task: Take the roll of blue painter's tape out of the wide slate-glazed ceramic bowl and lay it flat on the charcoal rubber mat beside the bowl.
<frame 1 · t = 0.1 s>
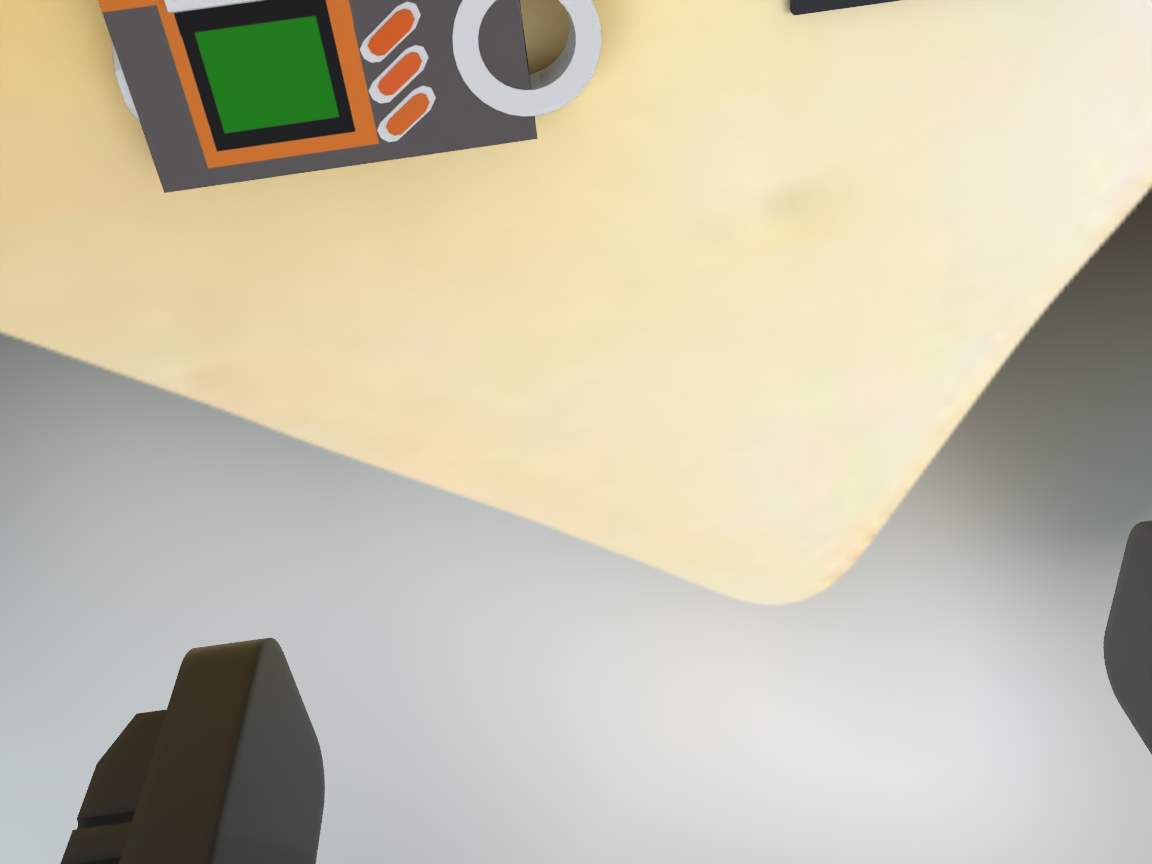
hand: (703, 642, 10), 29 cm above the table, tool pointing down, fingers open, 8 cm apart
electronic device: (367, 38, 35), on the table
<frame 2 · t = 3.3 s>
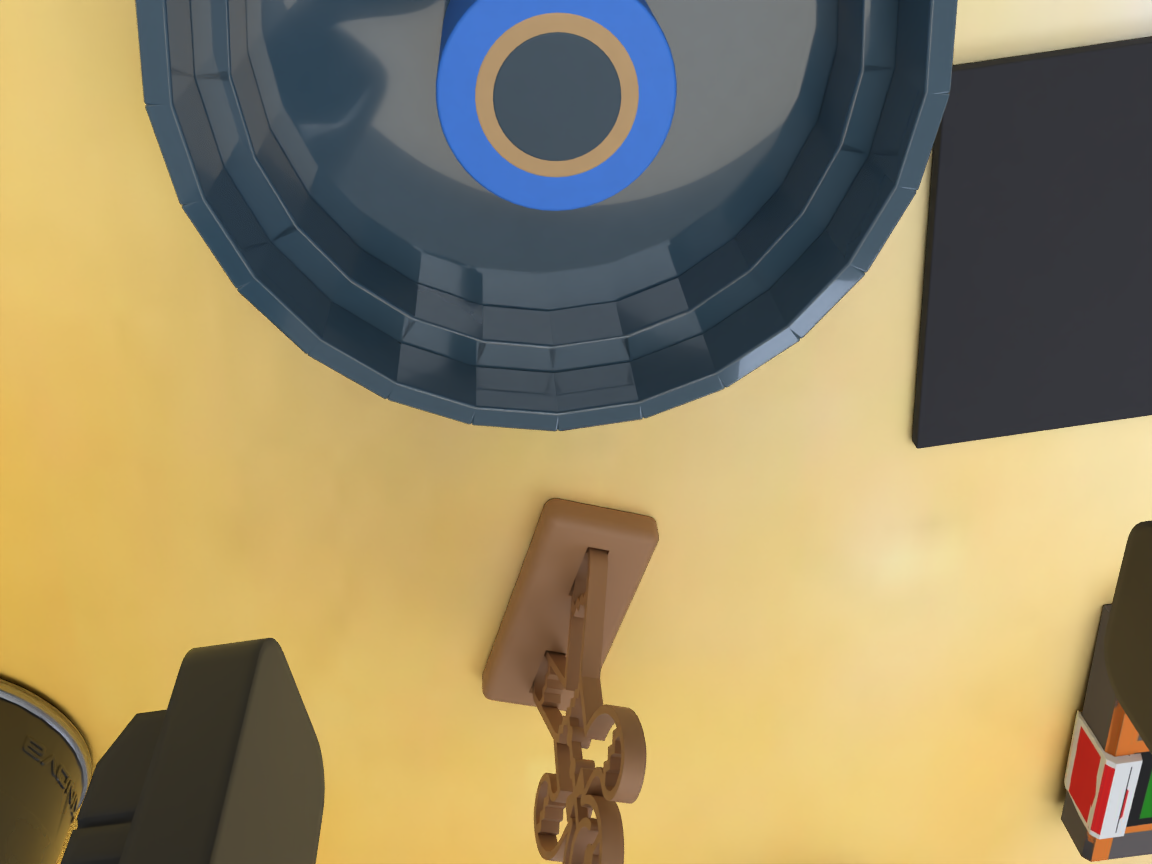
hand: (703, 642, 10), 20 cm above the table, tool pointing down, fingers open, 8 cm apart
tape roll: (547, 48, 26), resting on bowl
mat: (1127, 244, 31), on the table
bowl: (546, 44, 26), on the table
brown scrollwork wall hook: (564, 600, 37), on the table
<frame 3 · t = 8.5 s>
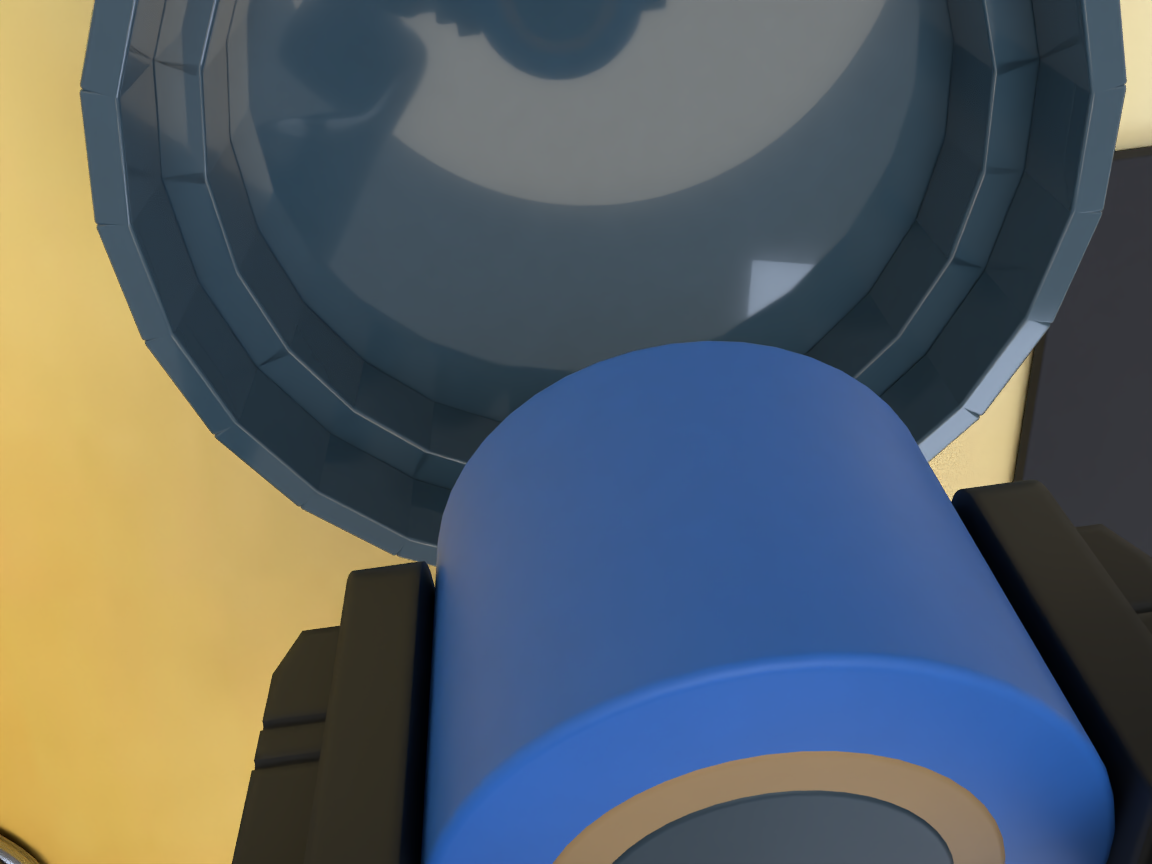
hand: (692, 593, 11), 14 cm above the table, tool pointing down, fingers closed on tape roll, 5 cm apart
tape roll: (685, 551, 11), point 13 cm above the table, touching gripper
bowl: (593, 129, 22), on the table
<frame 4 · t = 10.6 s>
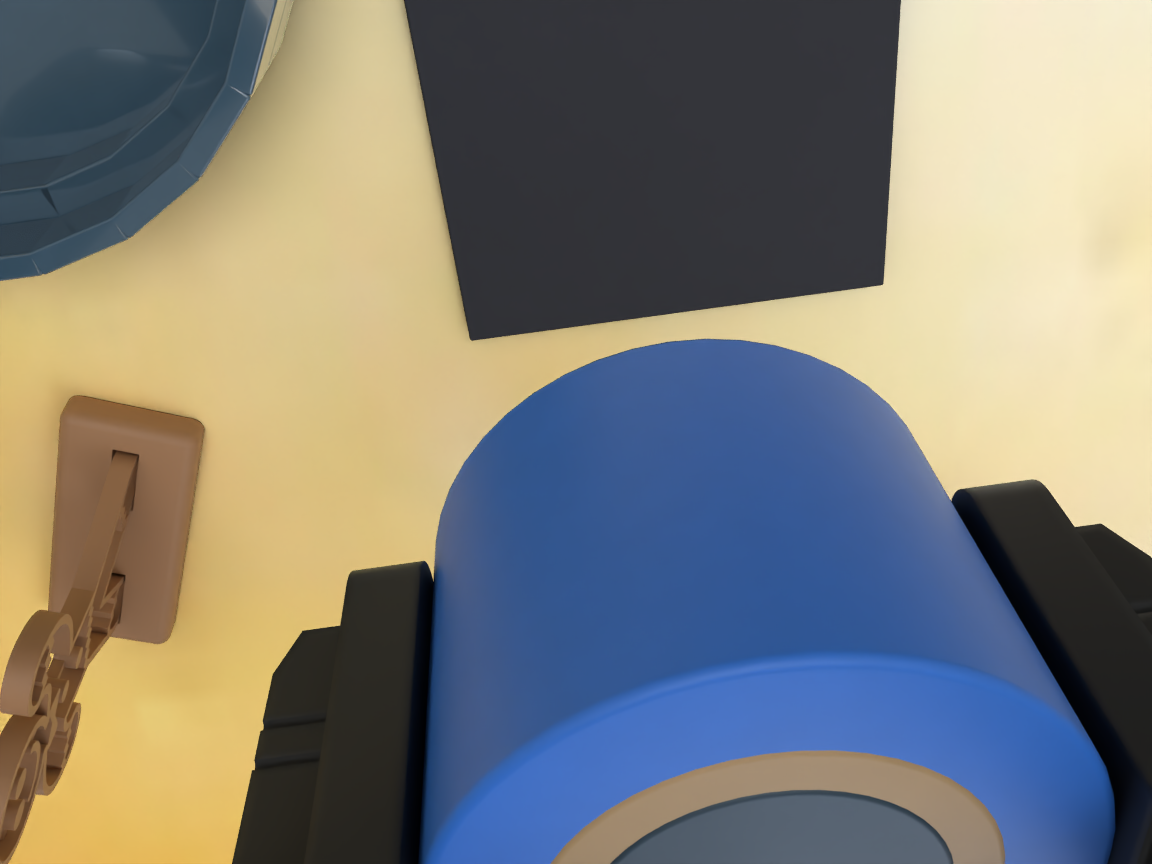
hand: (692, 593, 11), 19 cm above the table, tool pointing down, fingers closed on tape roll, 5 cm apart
tape roll: (684, 550, 11), point 19 cm above the table, touching gripper
mat: (661, 101, 27), on the table
brown scrollwork wall hook: (127, 516, 34), on the table
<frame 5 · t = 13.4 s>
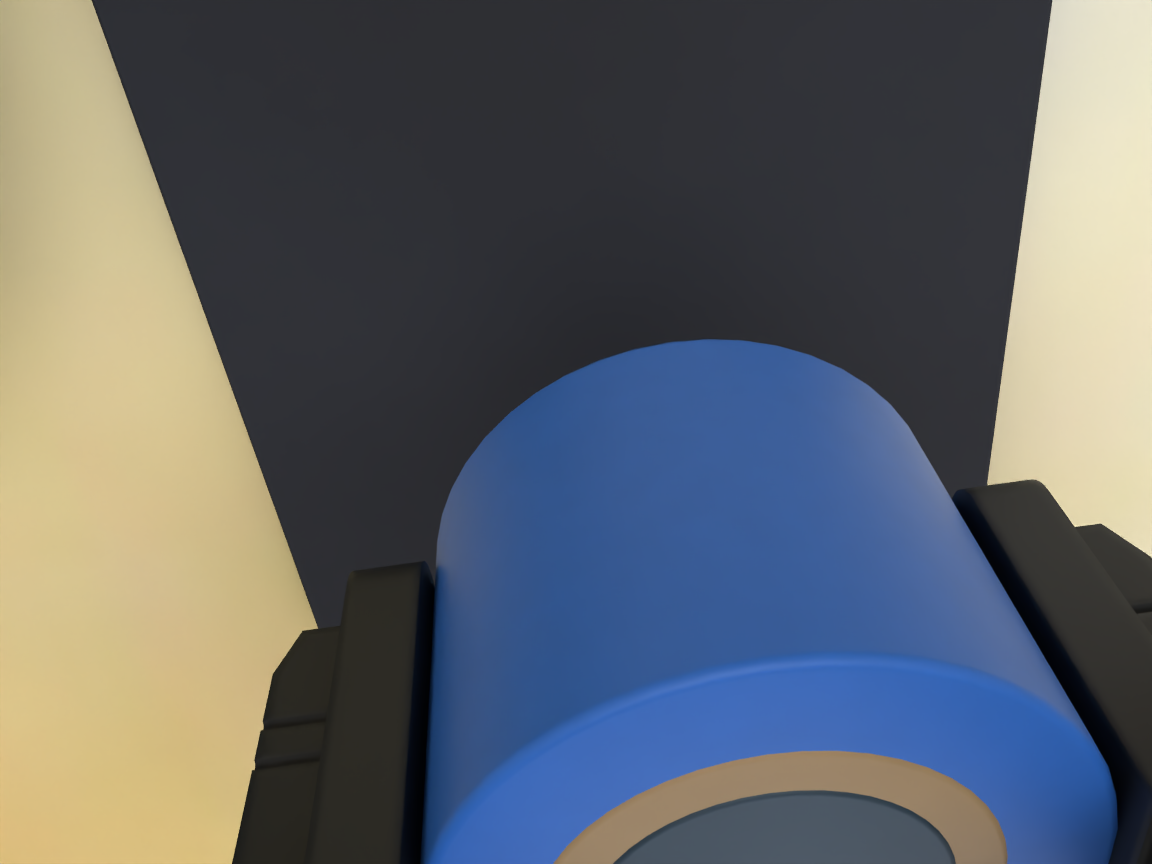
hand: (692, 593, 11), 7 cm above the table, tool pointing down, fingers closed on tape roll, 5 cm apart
tape roll: (685, 550, 11), point 6 cm above the table, touching gripper
mat: (616, 293, 16), on the table
when the fingers open (1 cm above the table, at t = 15.2 s): tape roll stays where it is, resting on mat.
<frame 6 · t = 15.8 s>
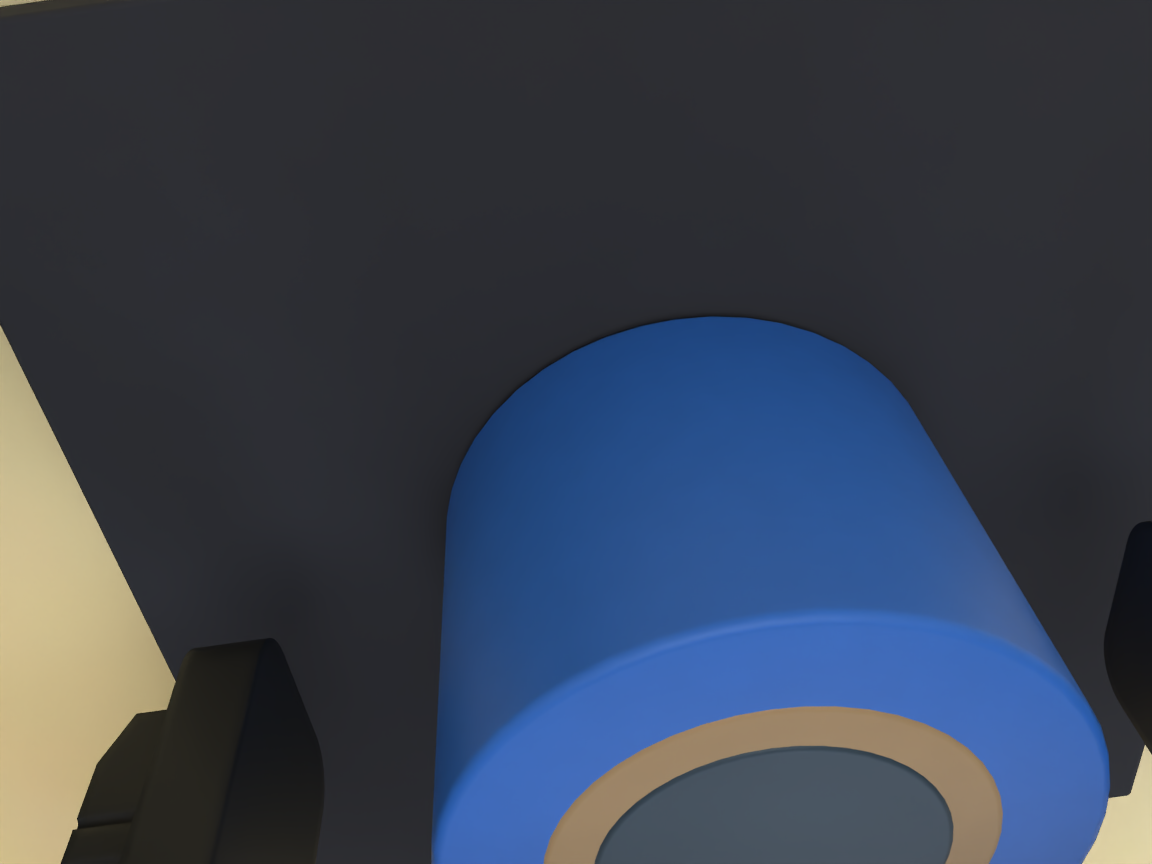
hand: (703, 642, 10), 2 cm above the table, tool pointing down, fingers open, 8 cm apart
tape roll: (689, 526, 11), point 1 cm above the table, touching mat
mat: (675, 500, 12), on the table
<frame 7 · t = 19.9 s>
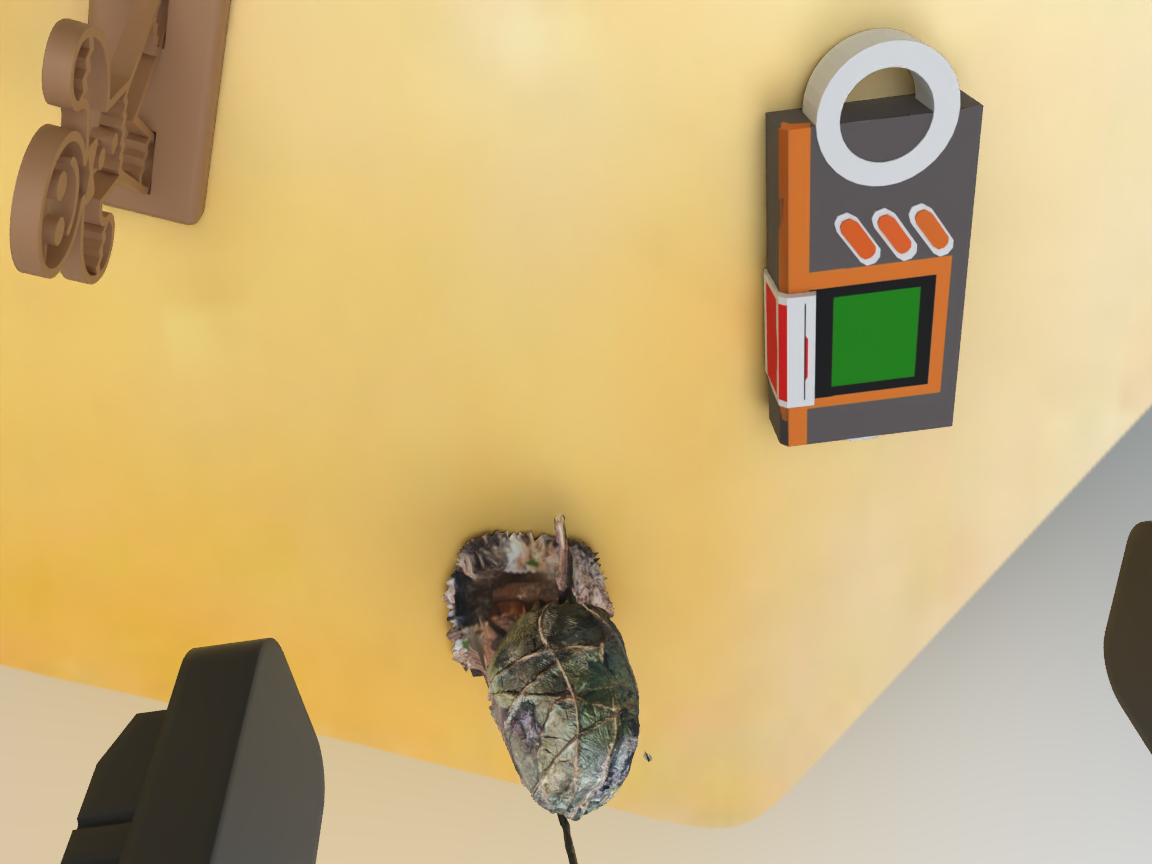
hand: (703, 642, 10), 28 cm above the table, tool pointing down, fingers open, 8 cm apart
electronic device: (854, 234, 39), on the table
brown scrollwork wall hook: (157, 76, 34), on the table
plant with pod: (534, 582, 48), on the table
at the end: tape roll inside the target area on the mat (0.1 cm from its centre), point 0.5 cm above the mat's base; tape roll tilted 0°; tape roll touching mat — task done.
